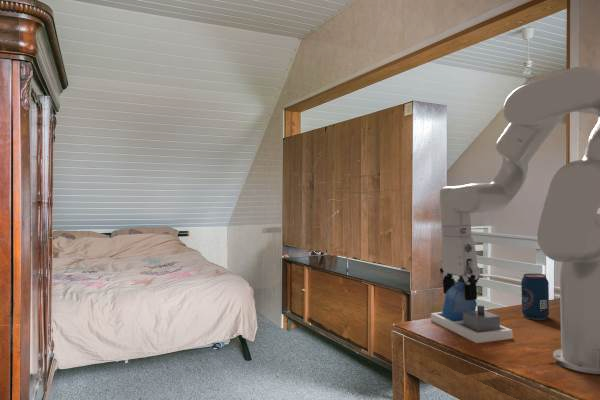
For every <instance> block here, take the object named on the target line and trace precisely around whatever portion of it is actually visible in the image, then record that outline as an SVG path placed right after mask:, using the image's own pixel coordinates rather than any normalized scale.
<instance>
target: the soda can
mask: <svg viewBox="0 0 600 400" xmlns="http://www.w3.org/2000/svg"><path fill="white" fill-rule="evenodd" d="M520 283H521V286H520V289H521V312H522V314H523V316H524V317H525V318H526V319H528V320H537V321H542V320H546V319H548V317H549V315H550V293H549V292H550V290H549V289H550V287H549V280H548V278H547V275H545V274H542V273H524V274H523V277H522V279H521V282H520Z"/></svg>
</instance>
